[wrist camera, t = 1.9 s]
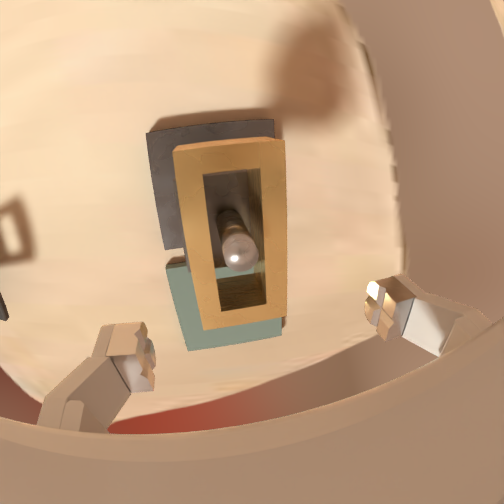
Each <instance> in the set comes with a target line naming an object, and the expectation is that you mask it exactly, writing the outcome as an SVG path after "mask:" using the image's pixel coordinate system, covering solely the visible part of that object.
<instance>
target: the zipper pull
mask: <svg viewBox="0 0 504 504" xmlns="http://www.w3.org/2000/svg"><path fill="white" fill-rule="evenodd" d="M8 318H9V315H8V311H7V308H6V305H5V303H4V300H3V298H2V295H1V293H0V320H4V321H7V320H8Z"/></svg>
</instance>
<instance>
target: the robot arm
mask: <svg viewBox="0 0 504 504" xmlns="http://www.w3.org/2000/svg"><path fill="white" fill-rule="evenodd" d="M367 292H368V294H369V297H368V298H367V299H366V301H365V306H364V311H365V316H366V318H367V320H368V321H369V323H370V324H372V325H374V326H377V329H376V331H377V333H378V334H379V335H380V336H381V337H382V339H383V340H384V341H385V342H386V341H389V340H392V339H395V338H398V337H401V336H402V337H403V338H405V339H407V340H409V341H410V342H412V343H414V344H416V345H418V346H420V347H422V348H423V349H425V350H427V351H429V352H431V353H433V354H434V355H436V356H438V358H437V359H435V360H433V361H431V362H430V363H428V364H426V365H424V366H422V367H420V368H418V369H416V370H414V371H412V372H409V373H408V374H405V375H403V376H401V377H399V378H397V379H394V380H392V381H389V382H387V383H385V384H383V385H380V386H378V387H375V388H373V389H370V390H368V391H365V392H362V393H360V394H357V395H354V396H352V397H349V398H346V399H343V400H340V401H337V402H334V403H331V404H328V405H324V406H321V407H318V408H314V409H311V410H307V411H304V412H300V413H296V414H292V415H288V416H284V417H280V418H275V419H271V420H266V421H262V422H257V423H251V424H246V425H241V426H234V427H227V428H220V429H213V430H204V431H195V432H183V433H170V434H110V433H109V432H108V431H107V428H108V427H109V425H110V424H111V423H112V421H113V420H114V418H115V417H116V415H117V414H118V412H119V411H120V409H121V408H122V407H123V405H124V404H125V402H126V401H127V399H128V398H129V396H130V395H131V393H135V392H147V391H154V381H155V375H154V373H153V371H152V370H153V368H154V367H155V366H156V357H155V350H154V346H153V343H152V341H151V340H150V339H149V338H147V332H148V330H147V328H146V326H145V323H143V322H132V323H120V324H109V325H103V326H102V327H101V329H100V332H99V335H98V338H97V341H96V344H95V347H94V350H93V353H92V357H88V358H87V359H85V360H84V361H83V362H82V363H81V364H80V365H79V366H78V367H77V368H76V369H75V370H73V371H72V372H71V373H70V374H69V375H68V376H67V377H66V378H65V379H64V380H63V381H62V382H60V383H59V384H58V385H57V386H56V387H55V388H54V389H53V390H52V391H51V392H50V393H49V394H48V395H47V396H46V397H45V399H44V402H43V405H42V408H41V412H40V415H39V418H38V422H37V425H32V424H28V423H23V422H18V421H14V420H10V419H6V418H2V417H0V504H504V317H502V319H500V320H498V321H497V322H496V323H494V324H493V323H492V322H491V321H490V320H489V319H488V318H487V317H486V316H484V315H483V314H482V313H481V312H480V311H479V310H478V309H477V308H474V307H471V306H468V305H465V304H462V303H459V302H455V301H453V300H449V299H447V298H443V297H441V296H437V295H434V294H431V293H425V292H424V291H423V290H422V289H421V288H420V287H418V286H417V285H416V284H415V283H414V282H413V281H411V280H410V279H409V278H408V277H407V276H405V275H404V274H398V275H394V276H391V277H388V278H385V279H381V280H377V281H372V282H370V283H369V285H368V289H367Z"/></svg>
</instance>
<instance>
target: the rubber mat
mask: <svg viewBox="0 0 504 504" xmlns="http://www.w3.org/2000/svg"><path fill="white" fill-rule="evenodd" d="M166 273H167V277H168V281H169V285H170V289H171V293H172V297H173V301H174V305H175V308H176V312H177V315H178V319H179V322H180V326H181V329H182V333H183V336H184V339H185V343H186V346H187V349H188V351H193V350H201V349H208V348H215V347H221V346H227V345H233V344H239V343H245V342H251V341H256V340H261V339H266V338H272V337H276V336H281V335H282V317H280V318H274V319H269V320H264V321H259V322H253V323H247V324H242V325H236V326H230V327H223V328H217V329H210V330H203V326H202V321H201V317H200V312H199V308H198V303H197V298H196V294H195V289H194V284H193V279H192V274H191V272H189V273H188V269H187V264H186V262H182V263H175V264H169V265H166ZM252 273H254V266H253V267H252V268H251V269H249V270H247V271H243V272H237V271H234V270H232V269H230V268H229V267H222V268H216V269H215V275H216V279H220V278H226V277H233V276H239V275H246V274H252Z"/></svg>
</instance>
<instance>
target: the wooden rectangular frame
mask: <svg viewBox="0 0 504 504" xmlns="http://www.w3.org/2000/svg"><path fill="white" fill-rule="evenodd" d="M172 153H173V161H174V169H175V177H176V184H177V191H178V198H179V205H180V211H181V218H182V224H183V230H184V236H185V241H186V247H187V253H188V258H189V263H190V269H191V274H192V279H193V284H194V289H195V294H196V298H197V303H198V308H199V312H200V317H201V321H202V326H203V330H210V329H217V328H223V327H230V326H236V325H242V324H247V323H253V322H259V321H264V320H269V319H274V318H280V317H285V316H287V197H286V160H285V141H284V140H280V139H275V138H270V137H251V138H238V139H227V140H217V141H208V142H200V143H192V144H185V145H178V146H176V148H175V149H174V150H173V151H172ZM243 169H247V176H248V191H249V206H250V221H251V236H252V239H253V241H254V243H255V245H256V247H257V249H258V252H259V258H258V261H257V263H256V264H255V265H254V273H252V274H246V275H239V276H233V277H226V278H220V279H216V275H215V268H214V261H213V254H212V247H211V240H210V232H209V224H208V216H207V208H206V200H205V192H204V183H203V174H208V173H216V172H224V171H233V170H243Z"/></svg>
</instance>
